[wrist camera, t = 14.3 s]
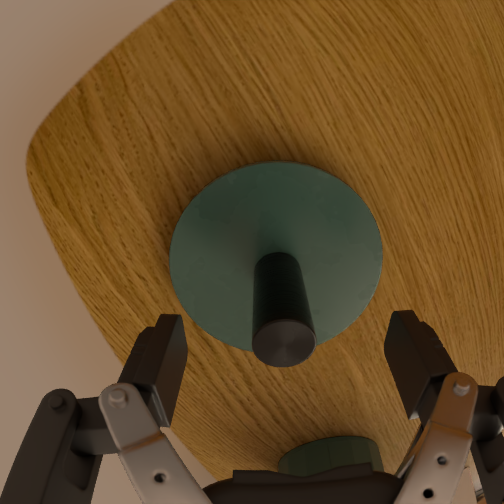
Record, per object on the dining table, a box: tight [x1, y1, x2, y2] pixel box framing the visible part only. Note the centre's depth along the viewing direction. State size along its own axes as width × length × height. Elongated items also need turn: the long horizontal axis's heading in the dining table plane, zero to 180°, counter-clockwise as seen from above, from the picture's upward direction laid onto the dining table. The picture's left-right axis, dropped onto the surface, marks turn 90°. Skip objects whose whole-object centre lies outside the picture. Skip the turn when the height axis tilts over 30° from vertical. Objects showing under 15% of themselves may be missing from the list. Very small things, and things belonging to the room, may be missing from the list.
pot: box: [278, 436, 384, 477], centre depth 24 cm, size 10×16×6 cm, turn 1°
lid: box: [169, 160, 383, 367], centre depth 15 cm, size 11×11×7 cm
